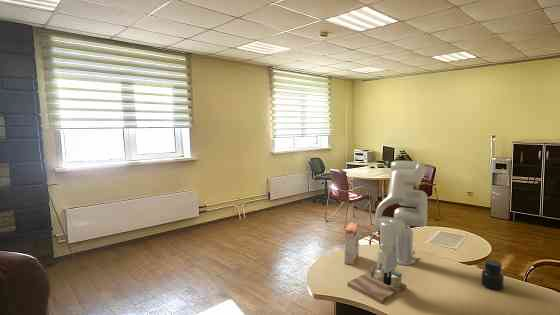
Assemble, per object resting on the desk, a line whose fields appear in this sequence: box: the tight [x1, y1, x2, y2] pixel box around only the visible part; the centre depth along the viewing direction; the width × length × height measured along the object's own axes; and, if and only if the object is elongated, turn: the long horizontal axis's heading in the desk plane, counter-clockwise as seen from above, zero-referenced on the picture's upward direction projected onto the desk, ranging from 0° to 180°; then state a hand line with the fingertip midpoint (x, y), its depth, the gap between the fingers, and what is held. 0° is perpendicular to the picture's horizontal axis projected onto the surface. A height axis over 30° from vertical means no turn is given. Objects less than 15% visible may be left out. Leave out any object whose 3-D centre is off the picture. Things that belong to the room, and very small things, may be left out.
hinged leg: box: [370, 266, 402, 288], centre depth 156 cm, size 16×3×4 cm, turn 38°
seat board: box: [347, 270, 407, 305], centre depth 154 cm, size 20×20×7 cm
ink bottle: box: [480, 259, 505, 291], centre depth 152 cm, size 10×9×12 cm
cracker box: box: [344, 222, 360, 266], centre depth 184 cm, size 14×6×21 cm, turn 155°
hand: (387, 284), depth 150 cm, fingers closed
